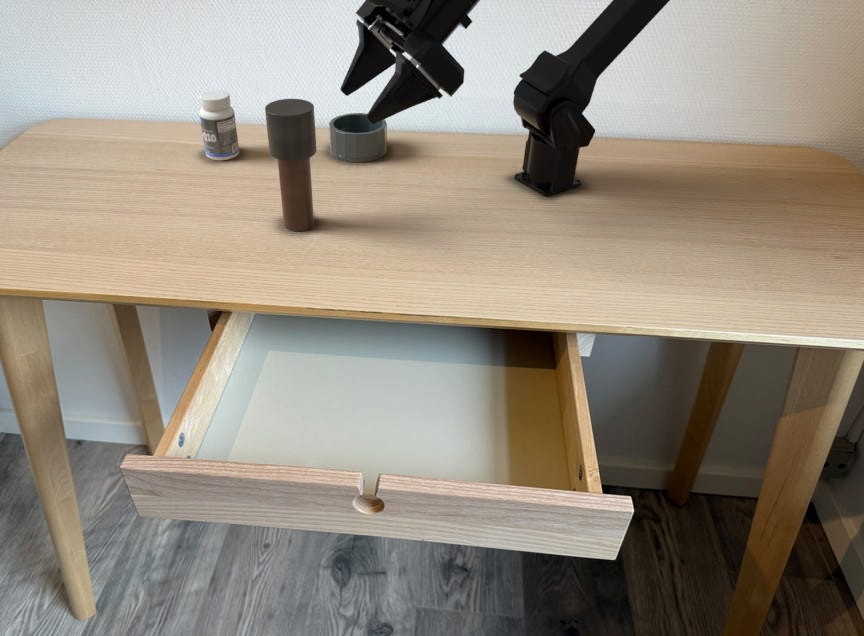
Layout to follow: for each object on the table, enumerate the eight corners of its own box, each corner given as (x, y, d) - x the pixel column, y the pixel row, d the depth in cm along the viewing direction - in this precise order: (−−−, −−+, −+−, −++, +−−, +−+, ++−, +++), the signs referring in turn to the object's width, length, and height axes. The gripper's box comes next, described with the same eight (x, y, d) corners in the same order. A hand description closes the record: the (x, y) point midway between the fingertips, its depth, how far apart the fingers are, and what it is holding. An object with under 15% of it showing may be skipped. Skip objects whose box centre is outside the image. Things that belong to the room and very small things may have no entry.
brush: (328, 227, 84) (322, 109, 76) (289, 239, 82) (277, 119, 73) (308, 210, 88) (300, 95, 79) (270, 220, 86) (257, 104, 77)
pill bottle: (199, 153, 101) (189, 93, 96) (228, 145, 103) (220, 86, 98) (216, 164, 98) (207, 103, 93) (246, 155, 101) (238, 95, 95)
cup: (397, 154, 101) (397, 126, 98) (348, 167, 98) (347, 138, 95) (368, 135, 106) (367, 109, 104) (320, 147, 103) (319, 119, 100)
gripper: (372, -85, 76) (280, 34, 80) (442, -56, 63) (327, 86, 67) (436, -9, 83) (349, 96, 87) (511, 32, 70) (404, 155, 74)
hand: (355, 106), depth 79 cm, fingers open, 9 cm apart
